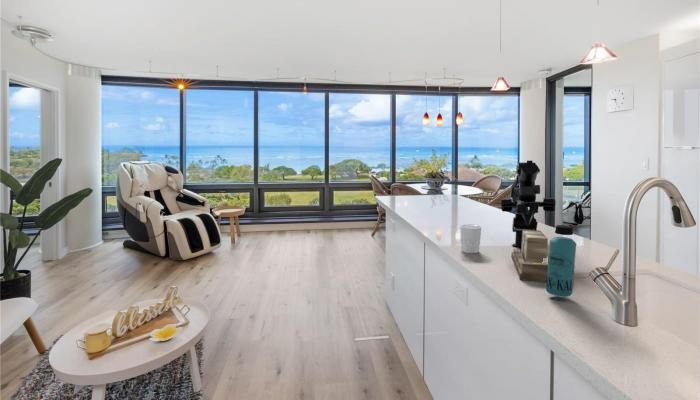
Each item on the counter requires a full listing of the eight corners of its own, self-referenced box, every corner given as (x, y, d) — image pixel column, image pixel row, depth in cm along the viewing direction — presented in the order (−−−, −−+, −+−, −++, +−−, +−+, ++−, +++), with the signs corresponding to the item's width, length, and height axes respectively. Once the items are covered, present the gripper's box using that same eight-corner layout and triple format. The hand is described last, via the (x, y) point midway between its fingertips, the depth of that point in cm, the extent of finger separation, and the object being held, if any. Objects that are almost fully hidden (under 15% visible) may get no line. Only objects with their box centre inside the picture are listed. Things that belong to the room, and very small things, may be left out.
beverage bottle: (546, 291, 107) (551, 222, 104) (573, 296, 103) (579, 224, 100) (543, 299, 101) (548, 226, 99) (571, 304, 98) (577, 229, 95)
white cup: (481, 254, 145) (482, 228, 143) (460, 253, 146) (461, 228, 145) (478, 249, 152) (480, 224, 151) (458, 248, 154) (459, 224, 153)
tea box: (520, 253, 138) (522, 229, 137) (539, 255, 136) (540, 230, 135) (525, 264, 126) (527, 237, 124) (546, 265, 124) (547, 238, 123)
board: (511, 256, 141) (512, 243, 140) (546, 259, 137) (547, 245, 137) (520, 279, 116) (520, 263, 116) (563, 283, 113) (564, 266, 112)
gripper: (500, 178, 146) (499, 213, 139) (555, 176, 138) (557, 213, 131) (502, 194, 155) (501, 227, 147) (553, 193, 147) (555, 228, 139)
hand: (527, 224), depth 141 cm, fingers closed
